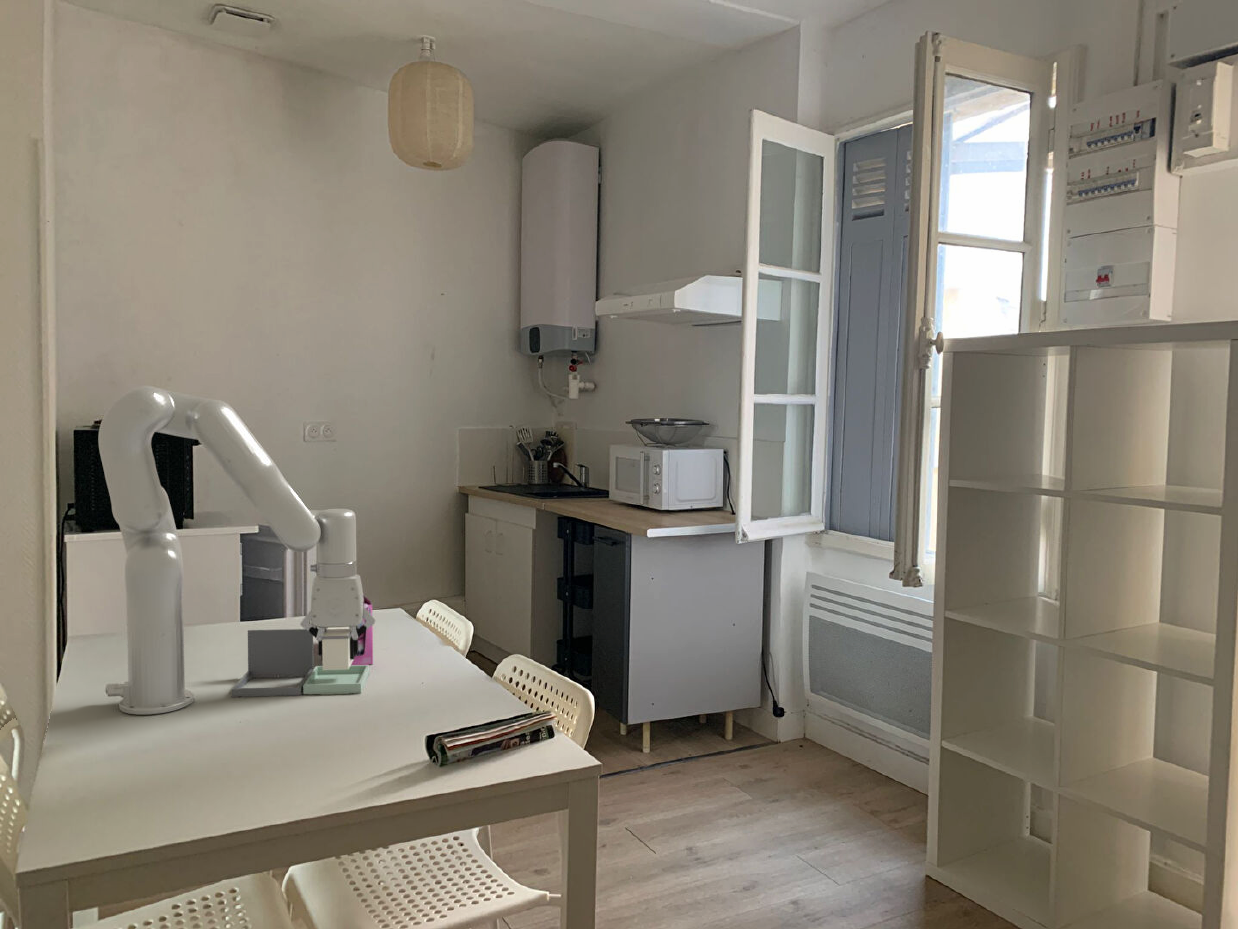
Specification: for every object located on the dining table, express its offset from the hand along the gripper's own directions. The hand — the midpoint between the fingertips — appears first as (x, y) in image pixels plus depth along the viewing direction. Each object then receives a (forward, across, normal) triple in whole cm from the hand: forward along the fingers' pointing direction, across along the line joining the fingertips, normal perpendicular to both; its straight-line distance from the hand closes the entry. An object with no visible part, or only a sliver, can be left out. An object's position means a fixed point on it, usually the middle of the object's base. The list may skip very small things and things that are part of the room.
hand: (338, 657), depth 188 cm
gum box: (+6, -2, +23) cm, 24 cm away
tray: (+6, 0, 0) cm, 6 cm away
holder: (+6, -13, 0) cm, 14 cm away
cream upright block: (+2, 0, 0) cm, 2 cm away
